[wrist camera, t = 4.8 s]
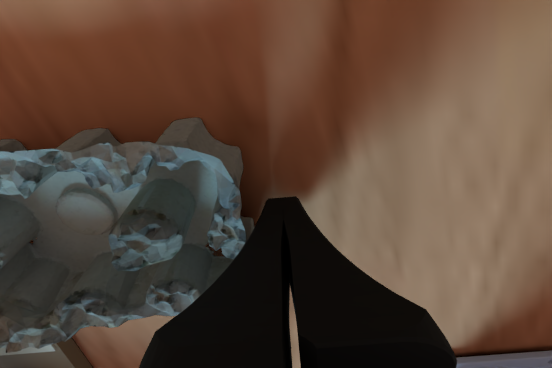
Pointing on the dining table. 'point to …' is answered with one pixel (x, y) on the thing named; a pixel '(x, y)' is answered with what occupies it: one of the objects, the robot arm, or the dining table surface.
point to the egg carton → (113, 229)
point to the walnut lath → (46, 357)
